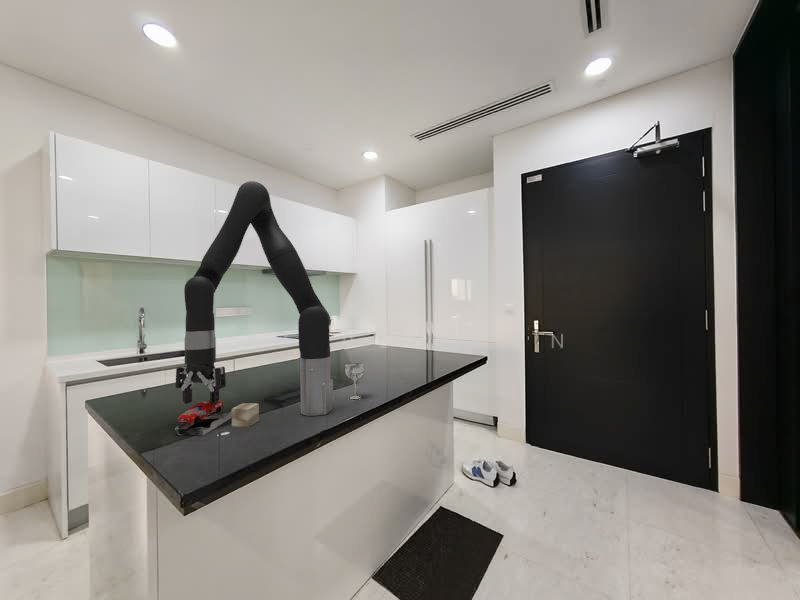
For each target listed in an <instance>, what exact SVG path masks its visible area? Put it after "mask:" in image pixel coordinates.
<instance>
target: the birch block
mask: <svg viewBox="0 0 800 600" xmlns="http://www.w3.org/2000/svg"><path fill="white" fill-rule="evenodd" d="M231 411H232V417H231V427H238V428H239V427H240V428H249V427H251V426H252V425H254V424H255V423H257V422H259V421H260V403H250V402H248V403H247V402H243V403H240V404H238V405H237V406H234V407H231Z"/></svg>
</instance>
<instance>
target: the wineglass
mask: <svg viewBox="0 0 800 600" xmlns="http://www.w3.org/2000/svg"><path fill="white" fill-rule="evenodd" d="M344 366H345V368H344V370H345V375H346V377H348V378H349V379H351V380H352V381H353V395H352V396H349V397H350V399H358V398H360V397H361V396H360V397H359V395H356V393H357V392H356V388H357V385H356V383H357V381H358V379H360V378H362V376H363V375H364V372H365V368H364V363H361V362H351V363H347V364H345V365H344Z"/></svg>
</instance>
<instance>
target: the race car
mask: <svg viewBox="0 0 800 600" xmlns="http://www.w3.org/2000/svg"><path fill="white" fill-rule="evenodd" d="M187 409H188V410H186V411H185V412H182V413H181V414H180V415H179V416H178V418H177V423H178V424H180V425H182V424H189V423H195V424H198V423H199V422H200V421H202V420H205V419H204V418H206V417H209V416H211V415H213V414H219V413H221V411H222V410H223V409H224V402H223V401H222V400H219V401H218V403H217V404H214V405H210V399H208V400H202V401H200V402H197V403H195V404H193V405H192V406H191V407H188V408H187Z"/></svg>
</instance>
